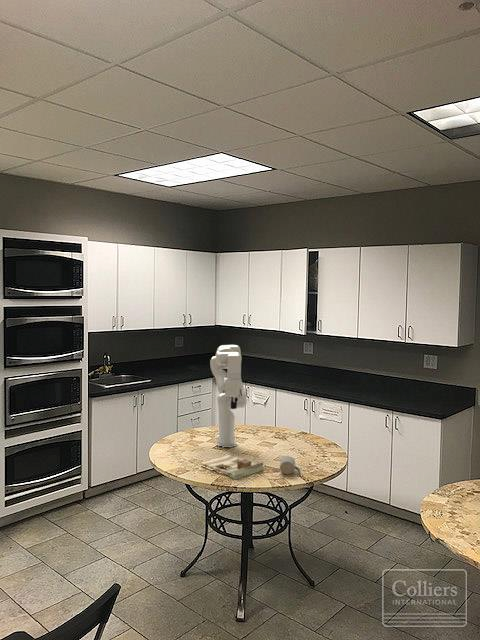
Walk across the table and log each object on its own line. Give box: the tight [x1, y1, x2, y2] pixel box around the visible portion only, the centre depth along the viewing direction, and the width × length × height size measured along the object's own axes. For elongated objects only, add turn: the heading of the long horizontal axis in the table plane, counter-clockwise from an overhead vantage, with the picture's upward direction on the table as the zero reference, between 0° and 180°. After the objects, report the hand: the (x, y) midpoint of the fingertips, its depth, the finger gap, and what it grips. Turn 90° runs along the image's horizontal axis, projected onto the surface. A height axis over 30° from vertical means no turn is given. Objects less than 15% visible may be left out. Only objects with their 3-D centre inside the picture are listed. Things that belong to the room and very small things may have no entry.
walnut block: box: [237, 458, 252, 469], centre depth 272 cm, size 5×5×4 cm
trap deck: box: [200, 454, 264, 479], centre depth 278 cm, size 26×20×4 cm
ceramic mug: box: [279, 455, 301, 476], centre depth 272 cm, size 11×8×8 cm
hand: (233, 408), depth 297 cm, fingers closed
